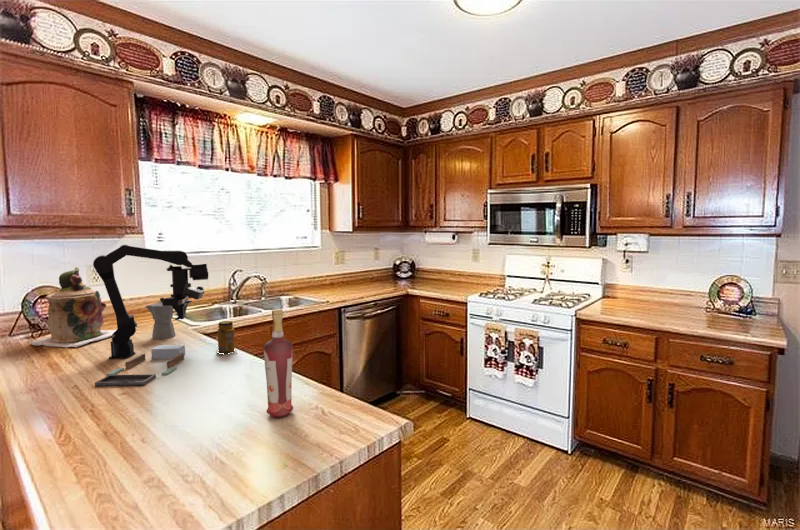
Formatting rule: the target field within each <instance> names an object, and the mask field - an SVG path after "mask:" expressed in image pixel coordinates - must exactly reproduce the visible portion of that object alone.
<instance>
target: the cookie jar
mask: <svg viewBox="0 0 800 530" xmlns="http://www.w3.org/2000/svg"><path fill="white" fill-rule="evenodd" d="M79 272H80V269H79V267H75V268H74V269H73V270H68V271H65V272H63V273H61V274H60V275H59V277H58V284H59V285H60V286H59V287H60V289H59V291H57V292H55V293H49V294H48V295H46V296H45V300H47V301H48V310H47V314H48V316H47V317H48V318H47V319H48V320H47V327H48V330H49V333H50V335H51V336H48V337H43V338H39V339H35V340H32V341H31V340H30V341H29V342H28V343H29V345H30V346H37V347H38V346H45V347H54V348H56V347H57V348H68V347H75V349H76V348H78V347H80V346H84V345H86V344H89V343H91V342H96V341H100V340H104V339H106V338H110V337H111V338H112V334H113V333H114V332H115V331H116V330H117V329H112V330H109V329H108V330H105V329H102V326H103V325H104V323H105V322H104V316H103V312H104V311H105V308H107V304H106V303H105V302H102V298H101V295H100V292H99V291H98V290H94V289H92V288H91V287H90V286H86V284H84V283H83V279H82V277H81V276H80V273H79Z"/></svg>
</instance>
